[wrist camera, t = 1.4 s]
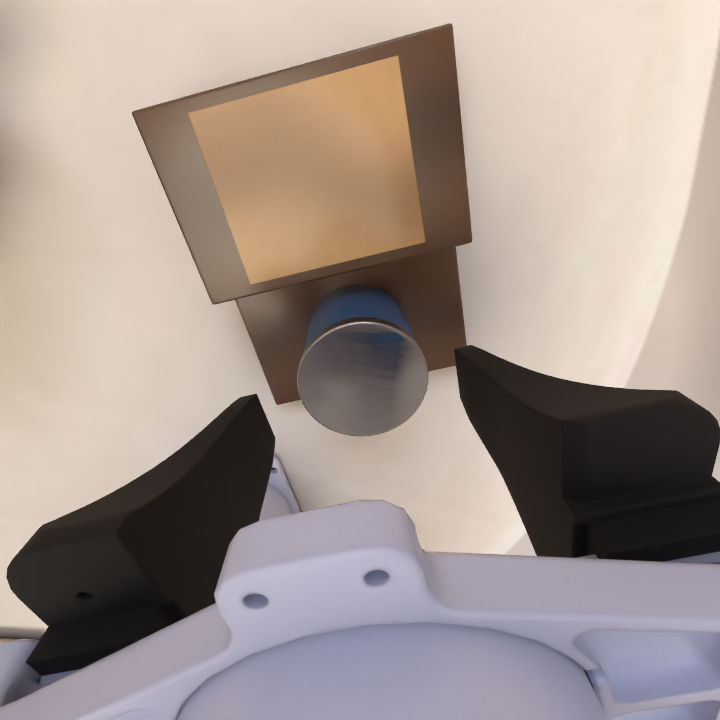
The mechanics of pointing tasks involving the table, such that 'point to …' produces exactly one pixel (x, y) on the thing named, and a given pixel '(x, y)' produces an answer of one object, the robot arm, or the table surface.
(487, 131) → the table surface
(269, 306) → the step shelf
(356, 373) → the tea tin
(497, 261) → the table surface
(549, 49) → the table surface
